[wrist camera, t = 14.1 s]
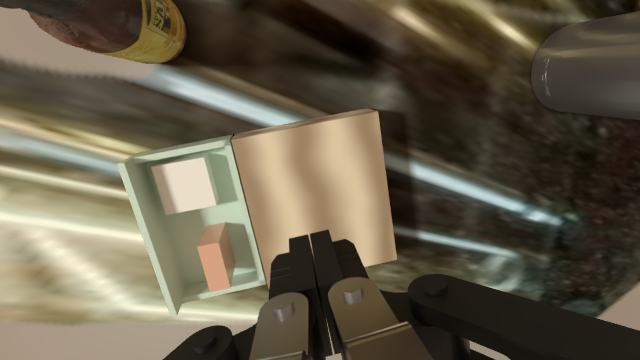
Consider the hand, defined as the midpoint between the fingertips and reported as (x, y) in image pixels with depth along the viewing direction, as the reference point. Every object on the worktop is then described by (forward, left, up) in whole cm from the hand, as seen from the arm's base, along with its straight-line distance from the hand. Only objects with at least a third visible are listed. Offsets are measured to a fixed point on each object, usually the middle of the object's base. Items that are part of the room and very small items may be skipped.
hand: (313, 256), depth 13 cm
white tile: (+11, +2, -23) cm, 25 cm away
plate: (-2, +6, -25) cm, 26 cm away
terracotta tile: (+8, +10, -22) cm, 26 cm away
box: (+10, +6, -25) cm, 28 cm away
